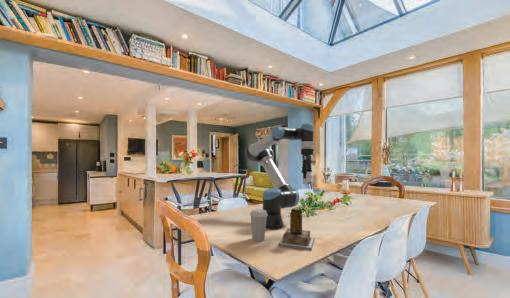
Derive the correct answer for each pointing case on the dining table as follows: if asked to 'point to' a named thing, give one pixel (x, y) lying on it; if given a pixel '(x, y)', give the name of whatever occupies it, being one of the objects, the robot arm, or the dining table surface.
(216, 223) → the dining table surface
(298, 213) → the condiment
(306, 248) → the plan board
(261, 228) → the coffee cup
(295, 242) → the pedestal
